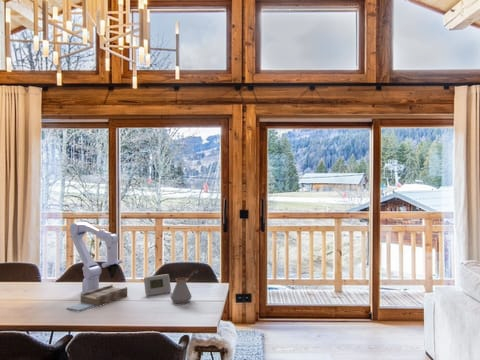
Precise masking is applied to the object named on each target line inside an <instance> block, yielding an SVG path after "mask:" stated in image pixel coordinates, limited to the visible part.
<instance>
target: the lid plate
mask: <svg viewBox="0 0 480 360" xmlns="http://www.w3.org/2000/svg"><path fill="white" fill-rule="evenodd" d="M93 306H94V305H93V304H88V303H84V302H81V301H80V302H79V303H76V304H73V305H70V306H67V307H66V310H68V309H70V310H69V311H73V310H74V311H73V312H77V311H80V312H82V310H83V311H85V310H84V309H86V310H88V309H87V308H89V309H91V308H90V307H92V308H94V307H95V306H94V307H93Z"/></svg>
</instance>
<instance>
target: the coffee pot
mask: <svg viewBox="0 0 480 360" xmlns="http://www.w3.org/2000/svg"><path fill="white" fill-rule="evenodd" d="M198 273H199V271H198V270H197V269H195V270H193V271H192V273H190V275H189V276H188V277H178V278H177V277H176V278H175V282H176V284H175V286H174V288H173V291H172V293H171V296H170V299H171V301H172V302H173V303H174V304H176V305H185V304H188V303H189V301H191V299H192V297H193V296H192V293H191V292H190V289H189V286H188V285H187V282H188V281H189V280H190V279H191V278H192V277H193V276H194V274H198Z"/></svg>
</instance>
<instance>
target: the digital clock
mask: <svg viewBox="0 0 480 360" xmlns="http://www.w3.org/2000/svg"><path fill="white" fill-rule="evenodd" d="M143 283H144V290H145V296H147V297H149V296H150V297H151V296H158V295H163V294H167V293H171V292H172V287H171V280H170V274H169V273H166V274H158V275H151V276H145V277H144V278H143Z"/></svg>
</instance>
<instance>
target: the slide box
mask: <svg viewBox="0 0 480 360" xmlns="http://www.w3.org/2000/svg"><path fill="white" fill-rule="evenodd" d="M126 297H128V286H124V287H116V286H114V285H113V284H109V285H106V286H105V285H104V286H102V287H99V288H98V289H95V290H92V291H88V292H85V293H80V303H81V302H84V303H88V304H93V305H94V307H96V306H98V307H101V306H103V304H104V305H106V303H107V304H110V303H112V302H115V301H118V300H120V299H124V298H126ZM109 302H110V303H109ZM100 305H101V306H100Z"/></svg>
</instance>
